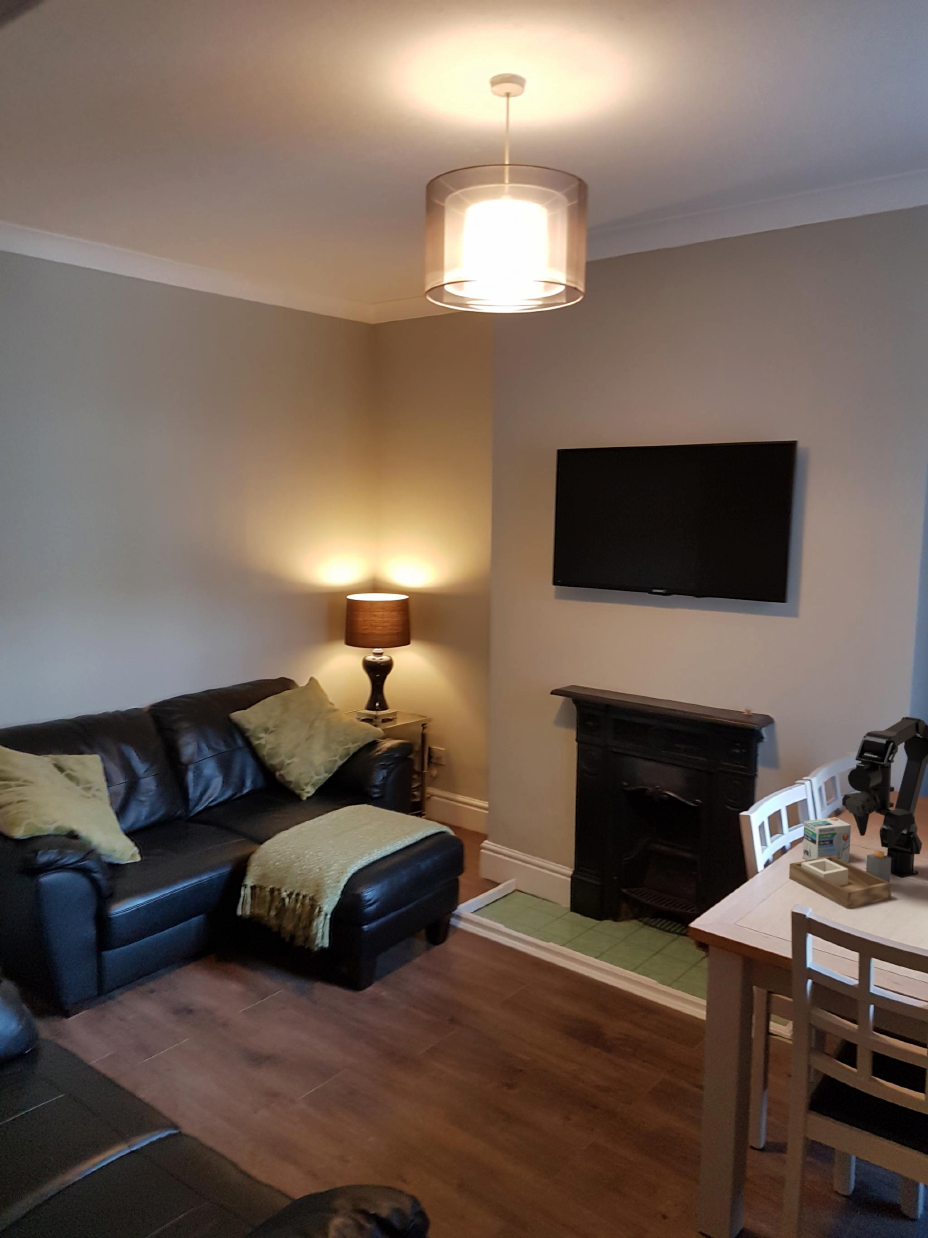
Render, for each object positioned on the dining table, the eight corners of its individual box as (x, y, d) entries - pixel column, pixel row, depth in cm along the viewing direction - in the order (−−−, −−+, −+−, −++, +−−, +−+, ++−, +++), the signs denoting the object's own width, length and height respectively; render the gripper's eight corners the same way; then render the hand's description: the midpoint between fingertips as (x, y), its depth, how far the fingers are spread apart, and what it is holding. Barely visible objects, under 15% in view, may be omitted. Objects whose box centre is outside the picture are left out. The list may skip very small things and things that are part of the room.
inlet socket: (824, 873, 241) (825, 858, 241) (847, 884, 234) (848, 869, 234) (800, 877, 238) (801, 863, 238) (823, 889, 231) (823, 874, 231)
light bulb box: (817, 867, 247) (818, 828, 246) (801, 858, 254) (802, 820, 252) (850, 862, 250) (852, 824, 249) (834, 853, 256) (835, 816, 255)
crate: (830, 870, 245) (831, 855, 244) (890, 899, 226) (891, 883, 226) (789, 878, 240) (789, 863, 239) (847, 908, 221) (847, 892, 221)
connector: (877, 882, 236) (878, 849, 235) (889, 888, 233) (891, 854, 232) (865, 885, 235) (867, 851, 234) (877, 890, 231) (879, 856, 230)
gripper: (826, 776, 237) (824, 834, 239) (882, 797, 219) (880, 859, 221) (859, 771, 240) (858, 828, 242) (917, 791, 223) (915, 852, 225)
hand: (876, 841), depth 233 cm, fingers open, 9 cm apart
